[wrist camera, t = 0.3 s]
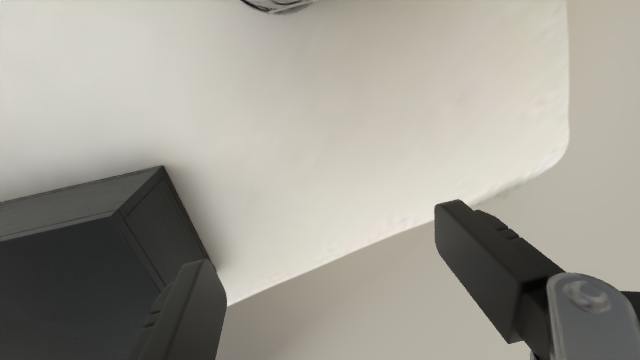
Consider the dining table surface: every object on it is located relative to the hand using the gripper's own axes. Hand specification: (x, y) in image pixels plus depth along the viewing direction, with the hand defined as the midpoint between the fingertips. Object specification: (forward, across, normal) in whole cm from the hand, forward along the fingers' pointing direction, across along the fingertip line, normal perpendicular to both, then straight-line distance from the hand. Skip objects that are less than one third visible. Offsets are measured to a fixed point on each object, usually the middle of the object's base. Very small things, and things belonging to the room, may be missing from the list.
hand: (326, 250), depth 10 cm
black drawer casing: (+17, +22, +7) cm, 29 cm away
